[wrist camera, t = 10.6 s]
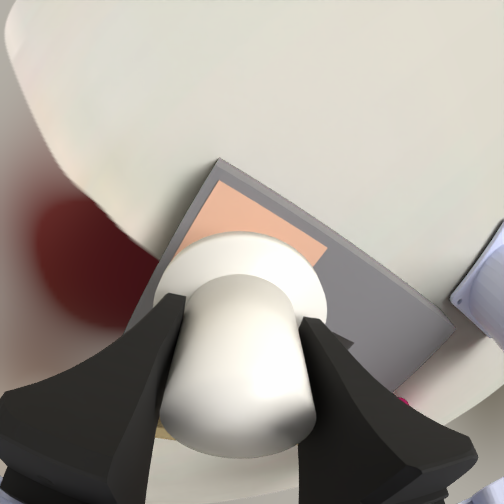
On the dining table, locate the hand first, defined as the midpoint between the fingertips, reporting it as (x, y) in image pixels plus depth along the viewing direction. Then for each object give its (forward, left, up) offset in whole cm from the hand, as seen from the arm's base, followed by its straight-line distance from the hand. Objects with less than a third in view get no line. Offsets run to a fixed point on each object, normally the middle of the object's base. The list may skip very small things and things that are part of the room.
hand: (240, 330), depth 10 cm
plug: (0, 0, -3) cm, 3 cm away
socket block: (-6, +4, -7) cm, 10 cm away
